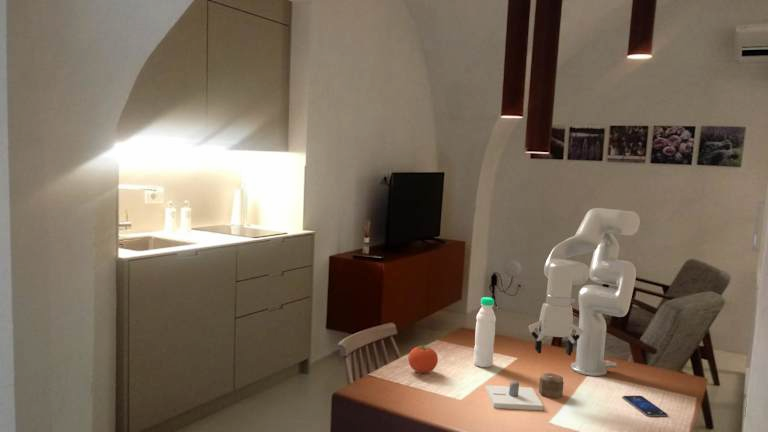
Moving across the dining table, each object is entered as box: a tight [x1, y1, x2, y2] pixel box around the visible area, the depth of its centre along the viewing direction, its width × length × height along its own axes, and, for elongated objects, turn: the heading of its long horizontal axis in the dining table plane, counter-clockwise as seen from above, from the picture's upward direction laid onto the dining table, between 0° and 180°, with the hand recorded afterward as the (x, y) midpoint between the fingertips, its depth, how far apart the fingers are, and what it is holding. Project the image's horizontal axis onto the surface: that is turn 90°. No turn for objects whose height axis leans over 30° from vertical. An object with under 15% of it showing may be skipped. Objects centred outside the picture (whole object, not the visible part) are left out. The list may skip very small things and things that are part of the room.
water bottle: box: [472, 296, 497, 368], centre depth 216 cm, size 7×7×25 cm
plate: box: [485, 380, 544, 411], centre depth 186 cm, size 15×14×6 cm
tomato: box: [408, 344, 439, 374], centre depth 206 cm, size 10×10×10 cm
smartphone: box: [621, 395, 669, 418], centre depth 187 cm, size 7×1×15 cm
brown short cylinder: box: [538, 372, 564, 400], centre depth 192 cm, size 7×7×6 cm
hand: (553, 353), depth 191 cm, fingers open, 9 cm apart
